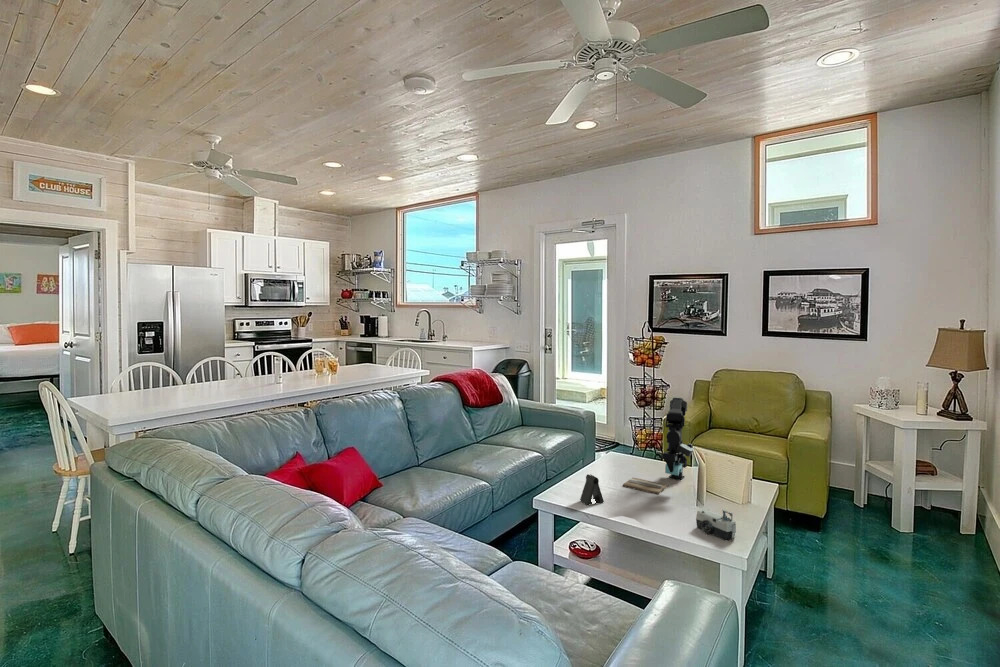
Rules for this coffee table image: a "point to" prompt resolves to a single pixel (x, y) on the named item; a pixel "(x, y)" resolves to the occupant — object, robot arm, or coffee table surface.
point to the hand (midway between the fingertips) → (673, 470)
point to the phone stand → (591, 490)
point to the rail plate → (645, 485)
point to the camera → (716, 524)
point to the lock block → (676, 469)
